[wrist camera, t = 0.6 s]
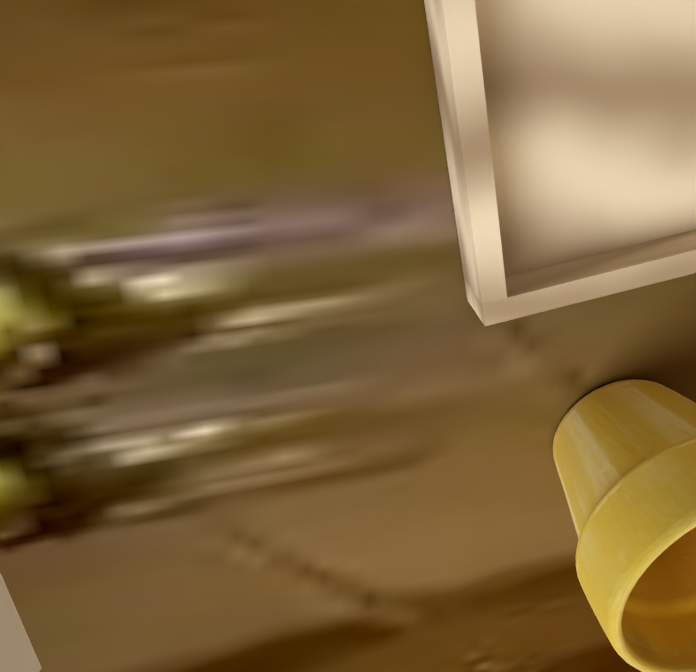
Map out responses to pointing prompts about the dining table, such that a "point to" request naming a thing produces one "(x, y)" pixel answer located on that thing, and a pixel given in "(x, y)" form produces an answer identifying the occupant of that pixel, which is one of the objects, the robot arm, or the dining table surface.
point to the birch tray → (567, 146)
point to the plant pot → (635, 517)
